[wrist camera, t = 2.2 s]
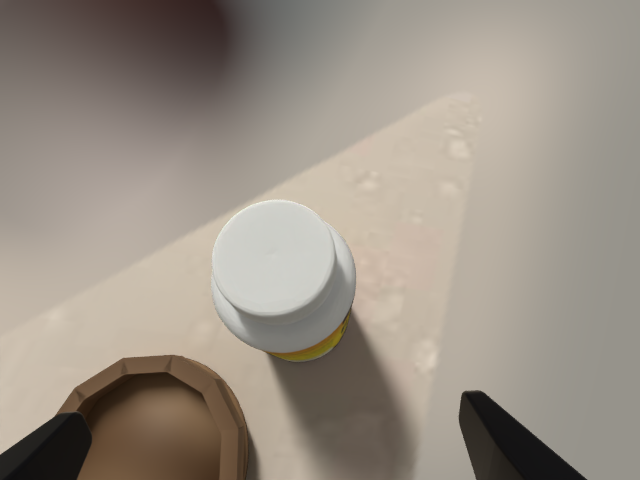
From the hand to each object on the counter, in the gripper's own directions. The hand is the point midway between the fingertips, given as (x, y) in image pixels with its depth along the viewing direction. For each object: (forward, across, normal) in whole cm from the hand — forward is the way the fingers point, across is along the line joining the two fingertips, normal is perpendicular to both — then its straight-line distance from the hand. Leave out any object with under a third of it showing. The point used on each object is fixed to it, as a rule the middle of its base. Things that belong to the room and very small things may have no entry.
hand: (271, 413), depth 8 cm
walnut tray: (+6, +8, +10) cm, 14 cm away
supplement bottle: (+11, 0, +5) cm, 12 cm away
